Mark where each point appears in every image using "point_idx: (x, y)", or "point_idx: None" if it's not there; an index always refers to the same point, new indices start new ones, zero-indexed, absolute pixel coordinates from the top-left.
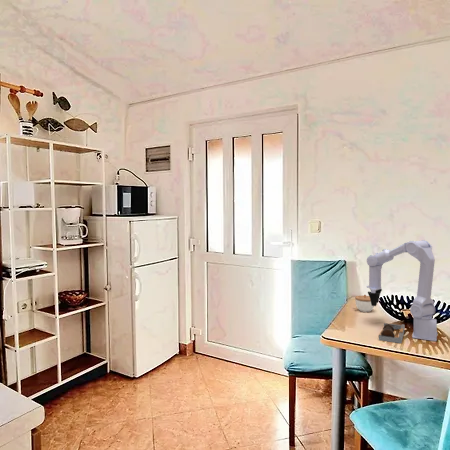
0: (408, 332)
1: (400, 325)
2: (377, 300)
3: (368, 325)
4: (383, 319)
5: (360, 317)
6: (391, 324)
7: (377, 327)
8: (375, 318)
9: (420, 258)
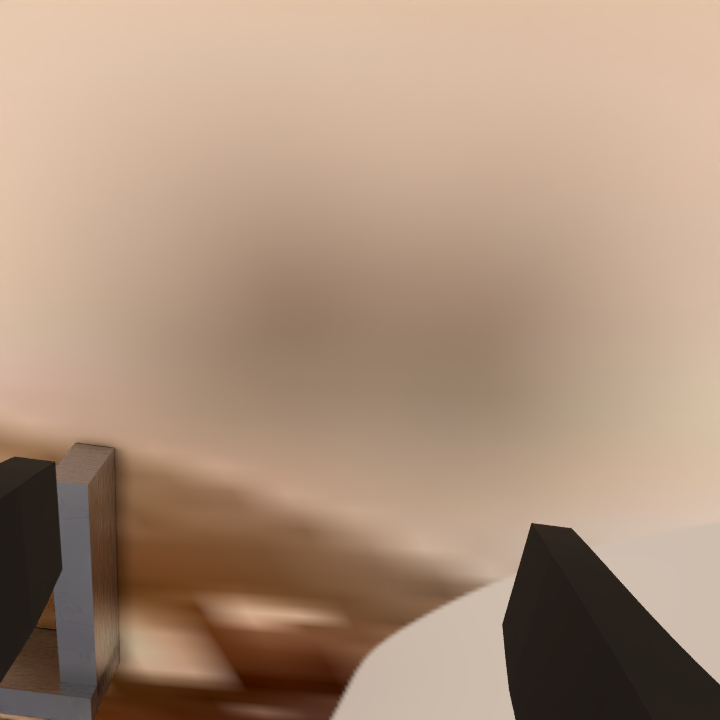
0: None
1: (71, 671)
2: (524, 683)
3: (66, 215)
4: (560, 459)
5: (603, 39)
6: None
7: (29, 357)
8: (594, 339)
9: None
